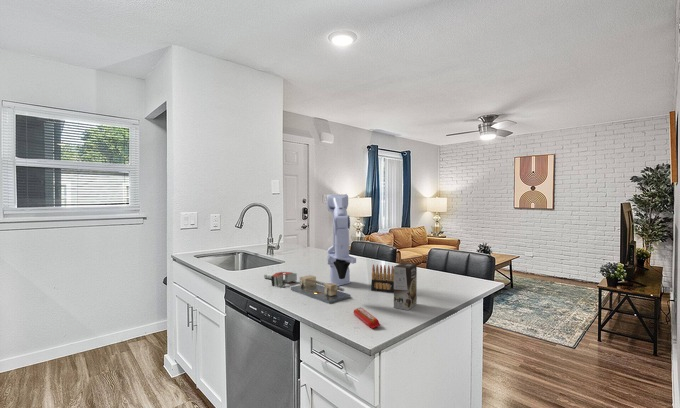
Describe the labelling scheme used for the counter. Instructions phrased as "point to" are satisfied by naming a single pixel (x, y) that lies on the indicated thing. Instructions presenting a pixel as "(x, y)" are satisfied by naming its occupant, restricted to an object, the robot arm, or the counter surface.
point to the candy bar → (366, 318)
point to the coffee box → (405, 286)
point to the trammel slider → (330, 289)
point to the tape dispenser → (281, 278)
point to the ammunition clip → (382, 279)
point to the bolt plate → (320, 293)
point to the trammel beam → (313, 282)
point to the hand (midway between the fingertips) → (342, 278)
